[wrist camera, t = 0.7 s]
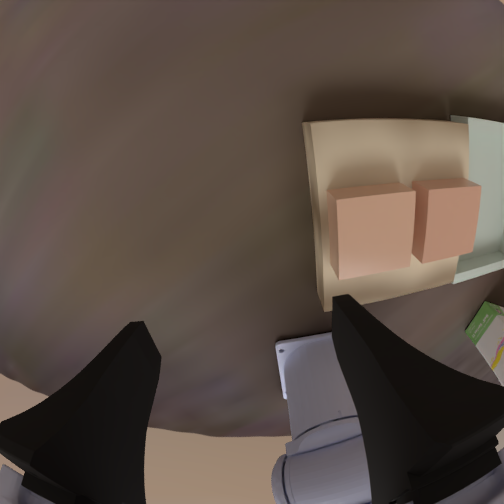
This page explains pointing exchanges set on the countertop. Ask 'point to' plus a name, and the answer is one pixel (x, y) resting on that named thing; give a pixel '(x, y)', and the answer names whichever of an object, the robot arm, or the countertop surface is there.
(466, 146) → the beige square slab
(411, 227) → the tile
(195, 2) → the countertop surface
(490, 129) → the tray
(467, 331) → the ink box
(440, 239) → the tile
